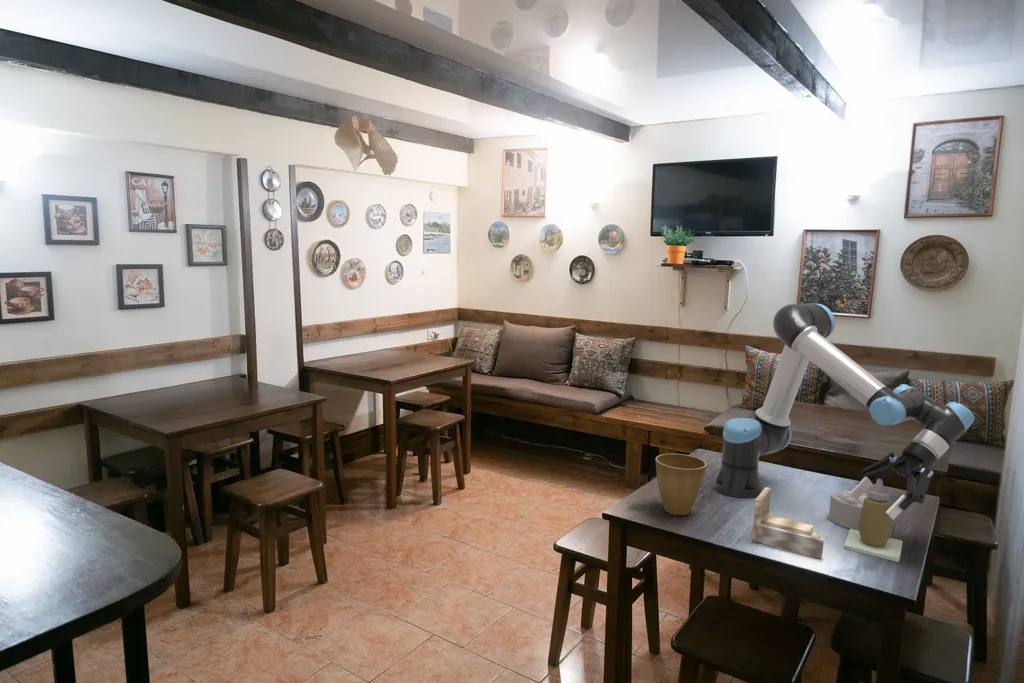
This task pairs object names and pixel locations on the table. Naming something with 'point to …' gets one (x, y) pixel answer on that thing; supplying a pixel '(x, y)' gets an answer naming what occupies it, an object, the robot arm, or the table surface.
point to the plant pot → (679, 481)
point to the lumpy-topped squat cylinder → (846, 509)
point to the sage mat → (874, 547)
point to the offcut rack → (784, 530)
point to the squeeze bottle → (875, 517)
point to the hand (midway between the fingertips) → (870, 505)
